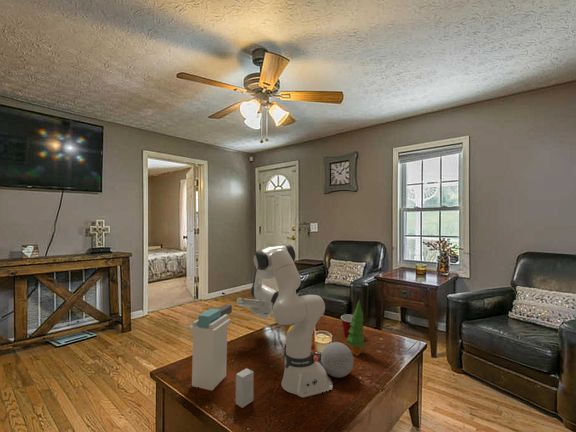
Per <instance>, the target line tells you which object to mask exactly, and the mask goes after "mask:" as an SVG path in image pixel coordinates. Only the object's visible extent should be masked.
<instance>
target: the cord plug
mask: <svg viewBox="0 0 576 432" xmlns="http://www.w3.org/2000/svg"><path fill="white" fill-rule="evenodd" d="M232 311H233V305H232V304H223V305H222V306H220V307H219V308H209V309H207V310H205V311H204V312H202V313H200V314H198V318H197V319H198V327H202V328H209V324H211V323H212V322H214V321H215V320H217V319H219V318H220V317H222V316H223V315H225V314H227V315H228V316H229V314H231V313H232Z"/></svg>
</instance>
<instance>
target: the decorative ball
mask: <svg viewBox="0 0 576 432" xmlns="http://www.w3.org/2000/svg"><path fill="white" fill-rule="evenodd" d="M320 362H321V365H322V366H323V367H324V369H325V371H326V373H327V375H330V376H331V377H333V378H337V379H339V378H344V377H346V376H348V374H349V373H351V371H352V370H353V367H354V355H353V354H352V353H351V349H350V348H349V346H347V345H346V344H345V343H342V342H338V341H334V342H329V343H328V344H327V345H326V346H324V349H323V350H322V351H321V355H320Z"/></svg>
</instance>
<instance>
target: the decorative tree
mask: <svg viewBox="0 0 576 432" xmlns="http://www.w3.org/2000/svg"><path fill="white" fill-rule="evenodd" d="M352 315H353V317H352V321H351V323H350V325H351V327H350V329H349V331H348V332H350V334H349V336H348V338H347V337H346V340H347V344H348V345H349V346H350V347H352V349H350V351H351V352H352V353H353V354H360V353H361V354H362V350H361V348H362V347H364V346H365V342H364V341H365V336H364V335H363V333H364V324H363V323H364V322H365V320H364V312H363V309H362V305H361V301H360V298H359V300H358V301H357V304H356V307H355V310H354V312H353V313H352ZM353 354H352V355H353Z"/></svg>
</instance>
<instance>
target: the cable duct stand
mask: <svg viewBox="0 0 576 432" xmlns="http://www.w3.org/2000/svg"><path fill="white" fill-rule="evenodd" d="M231 320H232V319H230V318H229V314H228V315H227V314H225V315H223V316H222V317H220V318H219V319H217V320H215V321H214V322H212V323H211V324H209V328H202V327H198V318H197V319H196V320H194V321H193V322H192V325H189V332H191V333H192V360H191V361H192V362H191V363H192V365H191V366H192V369H191V387H195V388H198V387H199V389H203V390H207V391H213V390H214V389H215V388H216V387H217V386H218V385H219V384H220V383H221V382H222V381H223V380H224V379H225V378H226V377H227V363H228V362H227V356H228V326H229V325H231V322H232V321H231Z"/></svg>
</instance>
